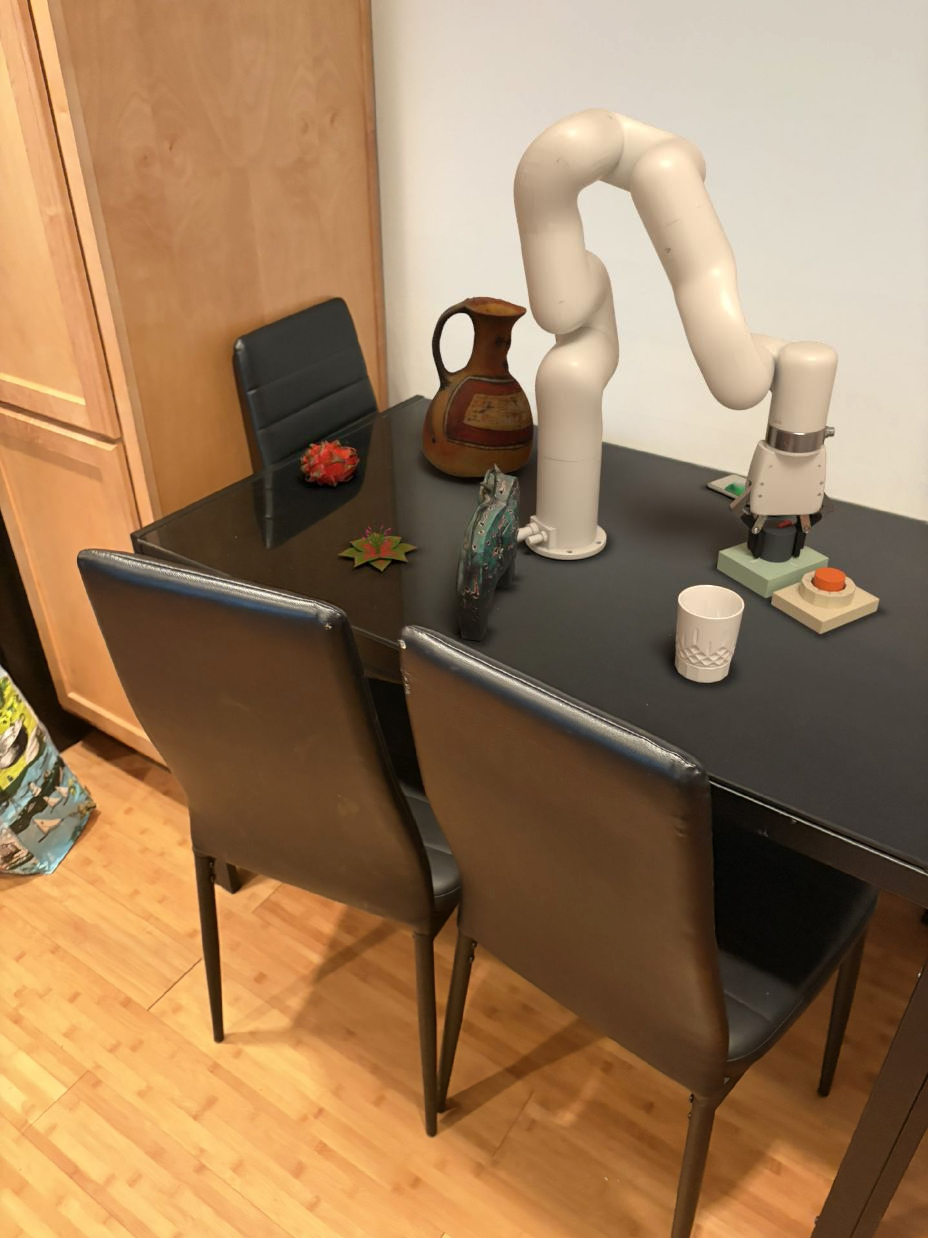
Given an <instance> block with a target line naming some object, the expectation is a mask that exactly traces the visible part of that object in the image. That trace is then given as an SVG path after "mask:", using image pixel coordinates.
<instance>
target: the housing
mask: <svg viewBox="0 0 928 1238" xmlns="http://www.w3.org/2000/svg"><path fill="white" fill-rule="evenodd" d="M814 575H815V571H812V572H809V573H807V574H805V575H804V576H803V578H802V580H801V582H799V583H797V584H794V585H791V586H789V587H786V588H783V589H781V590H778V591H775V592H773V595H772V596H771V602H770V605H771V606H772V607H775V608H776V609H778V610H780V611H782V612H783V613H785V614H787V615H788V616H790V617H791V618H793V619H795V620H796V621H798V622H799V623H801V624H802V625H804V626H806V627H808V628H809V629H811V630H812V631H814V632H816V633H817V634H819V635H821V634H824V633H827V632H829V631H832V630H833V629H836V628H840V627H841V626H844V625H846V624H848V623H851V622H854V621H855V620H858V619H860V618H863V617H866V616H868V615H870V614H873V613H875V612H877V611H878V606H879V602H880V598H879V597H877V596H875V595H873V594H871V593H869V592H867V591H865V590H864V589H862V588H860V587H859V586H857V585H856V584H855V583H854V581H853V580H852V579H851V578H850V577H848V576H846V579H845V583H844V588H843V590H841V591H839V592H828V591H823V590H820V589H818V588H816V587H815V586H814V585H813V580H814Z"/></svg>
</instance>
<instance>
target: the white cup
mask: <svg viewBox="0 0 928 1238" xmlns="http://www.w3.org/2000/svg"><path fill="white" fill-rule="evenodd" d="M744 602H745V601H744V599H743V598H742V597H741V595H739V594H738V593H736V592H735V591H733V590H731V589H729V588H726V587H723V586H718V585H711V584H700V585H694V586H690V587H686V588H685V589H683V590H682V591H681V592H680V593H679V595H678V597H677V607H676V608H677V611H676V612H677V613H676V624H675V625H676V626H675V657H674V666H675V668H676V670H677V672H678V674H679V675H681V676H683V678H686V679H688V680H690V681H693V682H697V683H704V684H705V683H706V684H711V683H715V682H716V683H717V682H720V681H722V680H723V679H725V677H726V678H727V676H728V675H729V671H730V667H731V663H732V658H733V656H734V654H735V649H736V646H737V641H738V639H739V634H740V628H741V623H742V618H743V614H744V610H745V603H744Z"/></svg>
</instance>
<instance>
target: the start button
mask: <svg viewBox="0 0 928 1238" xmlns="http://www.w3.org/2000/svg"><path fill="white" fill-rule="evenodd" d="M846 577H847V575H846V573H844V572H843V571H841V570H840V569H837V568H834V567H828V566H827V567H825V568H819V569H817V570H816V571H815V575H814V580H813V585H814V586H815V587H816V588H818V589H820V590H823V591H828V592H839V591H841V590H843V588H844V583H845V579H846Z"/></svg>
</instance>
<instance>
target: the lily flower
mask: <svg viewBox="0 0 928 1238" xmlns="http://www.w3.org/2000/svg"><path fill="white" fill-rule="evenodd" d="M367 527H368V529H369V530H370V531H369V530H368V529H366V530H365V534H366V536H367V537H364V536H362V538H359V539H355V540H352V541H350V544H351V545H352V546H353V547H350V548H347V549H346V550H344V551H342V552H341V553H338V554H337V556H342V557H348V558H353V559H354V567H353V568H356V567H358V566H360V565H362V564H364V563H366V562H368V563H369V564H370V565H372V566H373V567H375V568H377V569H378V570H380V571H381V572H383V571H384V569H386V568H387V566H388V565H390V564H391V562H392V559H394V560H397V561H398V560H399V561H403V562H407V563H409V561H408V560H407V557H406V553H407V552H410V551H412V550H414V549H415V550H416V549H418V548H419V547H418V546H415V545H411V544H409V543H406V542H405V543H400V542H401V540H402V536H394V535H388V534H389V533H388V531H390V530H391V529H392V528H391V527H389V528H387V529H386V530H384V532H383V533H382V529H383V528H384V525H383V524H382V525H381V527H380V529H379V533H377V532H376V531H374V532H373V530H372V528H371V527H370V526H367ZM381 533H382V534H381Z"/></svg>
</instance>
